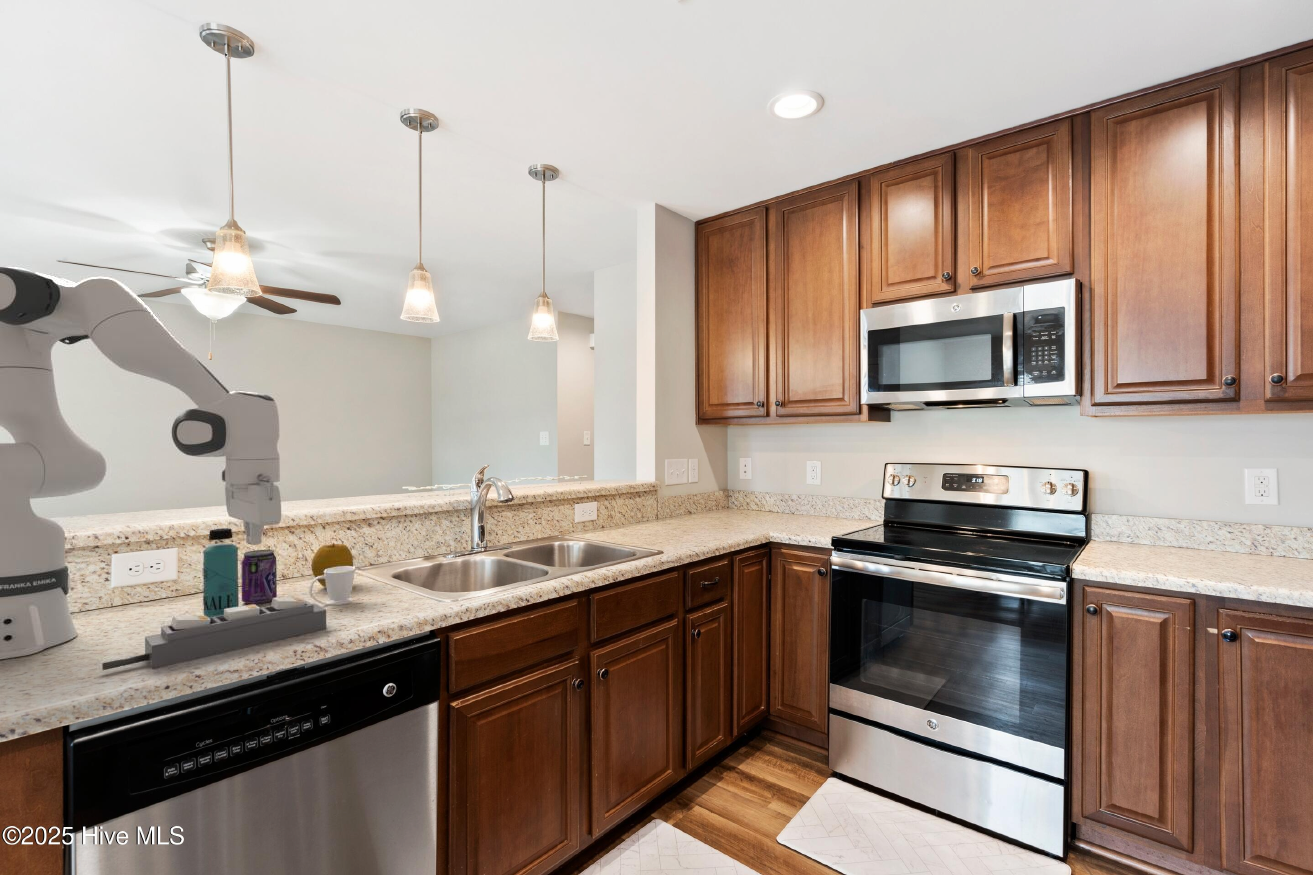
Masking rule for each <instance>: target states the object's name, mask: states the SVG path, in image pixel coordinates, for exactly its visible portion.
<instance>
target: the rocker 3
mask: <svg viewBox="0 0 1313 875" xmlns="http://www.w3.org/2000/svg"><path fill="white" fill-rule="evenodd" d="M304 600H305V599H302V598H300V597H275V598H273V599H272V600H271V605H270V606H272V607H273V608H275V609H290V608H296V607H301V606H305V602H306V601H307V600H305V601H304Z"/></svg>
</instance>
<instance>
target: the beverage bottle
mask: <svg viewBox="0 0 1313 875" xmlns="http://www.w3.org/2000/svg"><path fill="white" fill-rule="evenodd" d="M232 538H233V532H232V528H225V527H224V528H222V527H221V528H215V529H210V531H209V535H208V540H209V541H221V540H222V541H223V540H228V539H232ZM202 553H203V562H202V566H203V567H202V581H203V583H202V585H203V588H202V592H203V593H202V601H203V602H202V605H203V609H202V613H203V616H207V617H208V618H209V617H214V616H220V615H224V609H227V608H233V607H240V603H239V602H240V598H239V590H240V589H239V548H238V546H237V545H235V544H234V543H233V542H220V543H214V544H210V545H208V546H206V547H205V549H204V550H203V551H202Z"/></svg>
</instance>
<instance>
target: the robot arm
mask: <svg viewBox="0 0 1313 875" xmlns="http://www.w3.org/2000/svg"><path fill="white" fill-rule="evenodd" d="M89 339H90V340H91V341H92V342H93V344H94V345H95V347H97V349H98V350H99V351H100V352H101V354H102V355H104V357H106V358H107V359H108V360H110V361H111V362H112V363H113V364H114V365H115V366H117V367H118V368H120V369H123V370H124V371H127V372H130V373H133V374H137V375H140V376H143V377H147V378H150V379H154V380H157V381H159V382H163V383H165V384H167V385H170V386H172V387H174V388H176V389H178V390H179V391H181V392H182V393H183V394H185V395H186V396H187V397H188V398H189V399H190V400H191V401H192V402H193V404H195V405H196V406H197V407H196V408H191V409H186V410H184V411H182V412H181V413H180V414H178V415H177V417H176V418H175V420H173V424H172V427H171V438H172V441H173V443H174V445H175V447H176V448H177V450H179V451H180V452H181V453H183V454H185V455H186V456H191V457H196V458H211V457H212V458H217V457H218V458H220V457H225V468H224V469H223V470H222V471H221V480H222V482H223V483H225V484H224V496H225V505H226V506H225V507H226V511H227V514H228V517H230V518H232V519H236V520H240V521H243V522H242V524H243V525H242V526H243V530H244V533H245V542H246V544H249V545H251V546H257V545H260V544H262V534H263V532H264V527H266V526H274V525H275V526H276V525H280V523H281V521H282V517H283V516H282V504H281V503H282V499H281V491H280V488H279V486H278V484H275V483H278V482H280V480H281V478H280V476H281V475H280V473H281V472H280V471H281V470H280V463H281V462H280V461H281V459H280V458H281V457H280V454H279V451H278V444H279V439H280V417H279V416H280V414H279V410H278V406H277V403H276V400H275V399H274V398H273V397H272V396H270V395H268V394H265V393H260V392H255V391H249V390H248V391H245V390H233V391H229V389H227V387H226V386H225V385H224V384H222V382H220V380H219V379H218V378H217V377H216V376H215V375H214V374H213V373H212V372H211V371H210V370H209V369H208V368H207V367H206V366H205V365H204V364H203V363H202V362H201V361H200V360H198V358H196V357H195V356H194V355H193V353H191V352H190V351H189V350H188V349H186V347H184V346H183V345H182V344H181V343H180V341H178V340H177V339H176V338H175V336H173V335H172V334H171V332H170V331H169V330H168V329H167V327H165V326H164V325H163V323H162V322H161V321H160V320H159V319H158V317H157V316H156V315H155V314H154V313H153V311H152V310H151V309H150V308H149V307H148V306H147V305H146V304H145V303H144V302H143V301H142V300H141V299H140V298H139V296H137V295H136V294H135V293H134V292H133V291H132V290H131V289H129V288H128V287H127V286H126V285H125V284H123V283H121V282H120V281H118V280H116V279H114V278H110V277H106V276H105V277H104V276H97V277H95V276H94V277H90V278H87V279H83V280H81V281H79V282H78V283H76V282H73V281H71V280H67V279H65V278H62V277H57V276H51V275H47V274H43V273H39V272H35V271H32V270H29V269H27V268H21V267H15V266H13V267H12V266H0V427H1V428H3V429H4V430H5V431H7V433H9V434H10V435H11V436H12V438H13V440H14V442H13V443H12V442H11V443H10V442H7V443H6V442H4V443H2V442H1V443H0V660H4V659H5V660H6V659H10V658H11V659H12V658H17V657H24V656H30V655H34V654H36V653H38V652H41V651H43V650H45V649H47V648H51V647H54V646H57V645H60V644H63V643H66V642H68V641H70V640H72V639H74V638H75V637H77V636H78V631H77V629H76V627H75V624H74V621H73V618H72V614H71V611H70V604H69V600H68V594H69V592H70V591H69V590H70V571H69V567H68V565H66V533H65V530H64V528H63V527H62V526H61V524H59V523H57V522H55V521H54V520H51V519H48V518H46V517H41V516H38V515H37V514H36V513H35V511H34V510H33V507H32V505H31V499H33V500H34V499H42V498H43V499H45V498H55V497H56V498H57V497H67V496H71V495H76V494H79V493H83V492H87V491H91V490H93V489H96V488H97V487H98V486H99V485H101V483H102V482H103V480H104V478H105V477H106V473H107V463H106V460H105V458H104V456H103V454H102V452H100V450H99V449H97V448H96V447H94V446H92V445H91V444H89V443H87V442H86V441H84V440H82V439H81V437H79V436H78V435H77V434H76V433H75V432H74V431H73V429H72V428H71V427H70V426H69V425H68V422H67V421H66V420H65V417H64V416H63V414H62V413H61V409H60V407H59V406H60V405H59V402H58V397H57V391H56V390H57V389H56V384H55V383H56V382H55V377H54V368H53V361H52V349H53V347H54V345H55V344H56V343H57V342H60V343H63V344H65V345H69V346H70V345H73V344H77V343H79V342H81V341H84V340H89Z"/></svg>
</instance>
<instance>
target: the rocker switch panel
mask: <svg viewBox="0 0 1313 875" xmlns="http://www.w3.org/2000/svg"><path fill="white" fill-rule="evenodd" d="M303 600H304V601H306V602H305V606H301V607H296V608H290V609H275V608H273V607H272V606H271V605H269V606H268V605H267V606H262V607H259V608H260V612H259V615H255V616H250V617H245V618H240V619H235V620H230V621H228V620H227V619H225V618H224V615H220V616H214V617H209V619H211V620H210V624H209V625H204V626H199V627H194V628H189V629H174V628H173V627H172V626H171V624H168V625H163V626H160V633H156V634H152V635H146V636H144V653H143V654H140V655H135V656H129V657H125V658H120V659H116V660H111V661H106V662H102V664H101V668H102V671H107V670H112V669H116V668H121V667H124V666H130V665H133V664H140V663H143V662H147V663H148V665H149V667H151V669H152V670H154V669H157V668H161V667H165V666H170V665H176V664H178V663H183V662H188V661H193V660H197V659H201V658H205V657H210V656H214V655H218V654H219V655H220V654H223V653H227V652H230V651H235V650H240V649H241V650H242V649H244V648H249V647H252V646H253V647H254V646H257V645H262V644H265V643H271V642H275V641H279V640H284V639H288V638H292V637H296V636H300V635H301V636H302V635H307V634H310V633H315V632H318V631H319V632H320V631H323V630H327V609H325V608H324V607H322V606H320V605H318V604H316V603H311V602H309V601H308V600H305V599H303Z"/></svg>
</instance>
